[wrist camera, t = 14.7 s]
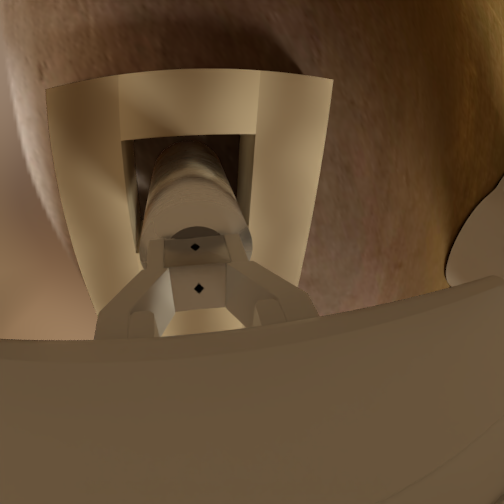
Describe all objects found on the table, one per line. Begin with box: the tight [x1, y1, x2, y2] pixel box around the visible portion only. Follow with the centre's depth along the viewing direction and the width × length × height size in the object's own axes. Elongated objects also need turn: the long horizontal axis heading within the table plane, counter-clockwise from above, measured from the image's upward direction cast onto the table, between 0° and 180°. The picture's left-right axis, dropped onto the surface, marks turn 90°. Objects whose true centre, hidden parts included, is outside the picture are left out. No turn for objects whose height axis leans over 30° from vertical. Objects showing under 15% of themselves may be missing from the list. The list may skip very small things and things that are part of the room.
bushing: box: [139, 140, 253, 270], centre depth 13 cm, size 4×4×8 cm
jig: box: [46, 69, 333, 337], centre depth 17 cm, size 13×18×4 cm
